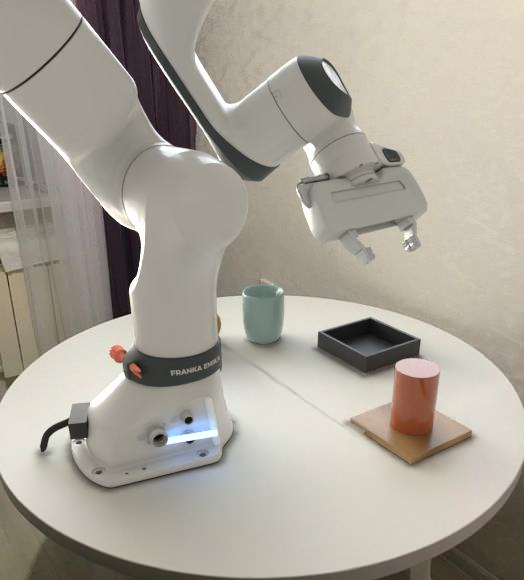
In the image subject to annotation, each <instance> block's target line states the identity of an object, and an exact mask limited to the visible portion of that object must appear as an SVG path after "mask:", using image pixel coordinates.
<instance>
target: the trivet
mask: <svg viewBox="0 0 524 580" xmlns="http://www.w3.org/2000/svg"><path fill="white" fill-rule="evenodd" d="M391 404H392V401H391V402H389V403H386V404H383V405H381V406H379V407H376V408H373V409H371V410H368V411H365V412H363V413H360V414H357V415H355V416H353V417H351V418H350V422H351V423H352V424H354V425H355V426H357V427H359V428H360V429H362V430H363V431H364V434H365V435H366V436H367V437H369V438H370V439H372V440H373V441H375V442H376V443H378V444H380V445H381V446H383V447H384V448H385V449H387V450H388V451H390V453H393V454H394V455H396V456H397V457H399V458H400V459H402V460H403V461H405V462H406V463H407V464H409V465H413V464H415V463H417V462H420V461H421V460H424V459H426V458H428V457H430V456H432V455H434V454H436V453H439V452H441V451H443V450H444V449H445V450H446V449H447V448H449V447H452V446H453V445H456V444H458V443H460V442H462V441H464V440H466V439H469V438H470V437H472V434H473V430H472V429H471V428H469V427H467V426H465V425H464V424H461V423H460V422H458V421H456V420H455V419H452V418H451V417H449V416H447V415H446V414H443V413H442V412H440V411H438V410H436V409H435V415H434V423H433V429H432V430H431V431H430V432H429V433H427V434H424V435H407V434H403V433H400V432H398V431H397V430H395V429H394V428H393V427H392V426H391V425H390V414H391Z"/></svg>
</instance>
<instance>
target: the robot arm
mask: <svg viewBox="0 0 524 580" xmlns="http://www.w3.org/2000/svg"><path fill="white" fill-rule="evenodd" d="M215 1H216V0H138V2H139V7H138V8H139V9H138V12H137V16H136V21H137V26H138V28H139V31H140V33H141V36H142V38H143V41H144V42H145V44H146V46H147V49H148V50H149V52H150V54H151V55H152V56H153V58H154V60H155V61H156V63H157V64H158V66H159V68H160V69H161V71H162V72H163V74H164V75H165V77H166V78H167V80H168V82H169V83H170V84H171V86H172V87H173V89H174V90H175V92H176V94H177V95H178V97H179V98H180V100H181V101H182V102H183V104H184V105H185V107H186V108H187V110H188V111H189V113H190V114H191V116H192V117H193V118H194V120H195V122H196V124H197V125H198V126H199V127H200V129H201V130H202V132H203V134H204V135H205V136H206V138H207V140H208V142H209V144H210V146H211V147H212V149H213V151H214V152H215V155H216V156H217V157H216V156H213V155H212V154H210V153H208V152H205V151H202V150H196V149H190V148H185V147H179V146H175V145H173V144H171V143H170V142H169V141H167V140H165V139H164V138H163V137H162V136H161V135H160V134H159V133H158V132H157V130H156V129H155V128H154V126H153V124H152V123H151V121H150V119H149V118H148V115H147V114H146V112H145V110H144V108H143V106H142V104H141V102H140V99H139V97H138V87H137V85H136V81H135V80H134V78H133V77H132V76H131V74H130V73H129V72H128V71H127V70H126V68H125V67H124V65H123V64H122V63H121V61H119V59H118V58H117V56H116V55H115V54H114V53H113V52H112V50H111V49H110V48H109V47H108V45H107V44H106V43H105V41H104V40H102V38H101V37H100V36H99V34H98V33H97V32H96V31H95V29H94V28H93V27H92V26H91V24H90V23H89V22H88V21H87V19H86V18H85V16H83V14H82V13H81V12H80V10H78V8H77V7H76V6H75V5H74V3H73V2H72V1H71V0H0V94H1V95H2V97H3V98H4V99H5V100H6V101H8V103H10V104H11V105H12V107H13V108H14V109H16V110H17V111H18V112H19V114H20V115H21V116H23V117H24V118H25V120H27V122H29V124H31V125H32V126H33V128H35V130H36V131H37V132H38V133H39V134H40V135H42V137H44V139H45V140H46V141H47V142H48V143H49V144H50V145H51V146H52V147H53V148H54V149H55V150H56V151H57V152H58V154H60V155H61V157H62V158H63V159H64V160H65V161H66V163H67V164H68V165H69V166H70V167H71V169H72V170H73V172H74V173H75V174H76V176H77V177H78V178H79V180H80V182H82V183H83V184H84V186H85V187H86V188H87V189H88V191H89V192H90V193H91V194H92V195H93V196H94V198H95V199H96V200H97V201H98V202H99V203H100V206H102V207H103V208H104V210H105V211H106V212H107V213H108V215H110V216H111V217H112V218H113V219H114V220H115V221H116V222H118V223H119V224H120V225H122V226H124V227H126V228H128V229H130V230H133V231H135V232H137V233H138V234H139V238H140V244H141V245H140V247H141V248H140V259H139V266H138V270H137V274H136V276H135V278H134V279H133V280H132V282H131V283H130V285H129V290H128V294H129V295H128V296H129V303H130V312H131V314H130V315H131V323H132V332H133V341H132V344H131V346H130V348H129V349H128V350H126V349H125V348H124V347H123V346H122V345H120V344H115V345H112V346H111V347H110V349H109V353H108V355H109V357H110V358H111V359H113V361H114V362H115V363H117V364H122V372H121V373H120V374H119V375H118V376H117V377H116V378H115V379H114V380H113V381H111V383H110V384H108V385H107V387H106V388H105V389H103V390H102V391H101V392H100V393H99V394H98V395H97V396H96V397H94V399H93V400H91V402H89V401H88V402H77V403H72V404H71V409H70V413H69V417H67V418H66V419H63V420H60V421H58V422H56V423H54V424H52V425H50V426H48V427H47V429H46V430H45V431H44V433H43V434H42V436H41V440H40V444H39V449H40V453H44V452H46V450H47V448H48V445H49V441H50V438H51V436H52V435H54V434H55V433H56V432H58V431H59V430H63V429H65V428H68V434H69V437H70V438H69V439H70V440H71V454H72V458H73V460H74V462H75V464H76V466H77V467H78V469H79V470H80V471H81V473H82V474H83V475H84V476H85V477H86V478H87V479H89V480H90V481H91V482H92V483H94V484H97V485H99V486H102V487H105V488H115V487H120V486H124V485H128V484H132V483H137V482H140V481H145V480H149V479H152V478H157V477H161V476H165V475H171V474H173V473H174V474H175V473H178V472H181V471H186V470H190V469H195V468H198V467H202V466H207V465H210V464H214V463H215V464H216V462H219V461H220V460H221V458H222V455H223V448H224V446H225V445H226V443H227V442H228V441H229V440H230V439H231V437H232V435H233V433H234V432H233V431H234V423H233V420H232V418H231V416H230V413H229V410H228V406H227V403H226V398H225V393H224V388H223V387H224V386H223V381H222V373H221V372H222V371H223V351H222V350H223V349H222V348H223V347H222V339H221V336H220V334H219V335H218V330H217V314H218V300H217V299H218V298H217V297H218V295H217V292H218V291H217V290H218V281H219V273H220V268H221V266H222V261H223V258H224V254H225V252H226V249H227V248H228V247H229V245H230V244H232V242H234V241H235V240H236V239H237V237H238V236H239V235H240V234H241V232H242V230H243V229H244V227H245V224H246V221H247V218H248V214H249V194H248V190H247V186H246V184H245V182H256V183H257V182H259V183H260V182H263V181H264V180H265V179H266V178H267V177H268V176H269V175H271V174H272V173H273V172H274V171H275V170H276V169H278V168H279V167H280V166H281V164H282V163H284V162H285V161H286V160H288V159H289V158H291V157H292V156H294V155H295V154H296V153H298V152H299V151H300V150H303V151H304V153H305V154H306V157H307V160H308V165H309V168H310V171H311V172H312V175H313V176H309V175H308V176H303V177H301V178H300V179H299V181H298V182H297V183H296V188H295V192H296V194H297V196H298V198H299V200H300V202H301V206H302V210H303V211H302V212H303V214H304V217H305V219H306V223H307V225H308V228H309V230H310V232H311V235H312V237H313V239H315V240H316V241H318V242H319V243H321V244H326V243H331V242H335V241H339V242H340V243H341V246H342V247H343V248H344V249H346V250H347V251H348V252H349V253H350V254H352V255H353V256H355V258H356V260H357V262H358V264H359V265H360V266H365V265H369V264H371V263H372V262H373V261H375V259H376V255H375V253H373V249H372V247H371V246H368V247H367V246H365V245H364V243H362V241H360V240H359V239H358V238H359V236H360V235H361V236H362V235H366V234H369V233H374V232H377V231H382V230H387V229H390V228H394V227H397V228H398V229H399V231H400V232H403V236H404V240H403V241H402V242H401V244H402V246H403V248H404V250H405V252H406V253H411V252H416V251H417V250H418V249H420V248H421V246H422V243H421V241H420V239H419V237H418V225H417V220H418V219H420V218H421V217H422V216H423V215H424V214H426V213H427V211H428V201H427V198H426V197H425V194H424V192H423V191H422V189H421V187H420V185H419V183H418V181H417V180H416V177H415V176H414V175H413V174H412V171H410V170H409V168H407V167H405V166H403V165H404V164H405V163H406V159H405V156H404V154H403V153H402V152H401V151H400V150H398V149H394V148H390V147H386V146H383V145H380V144H377V143H376V142H373V141H370V140H369V138H368V136H367V135H366V133H365V132H364V131H363V130H362V129H361V128H360V127H359V125H358V124H357V122H356V120H355V114H354V111H353V109H352V104H353V98H352V96H351V95H350V93H349V91H348V89H347V87H346V86H345V83H344V82H343V80H342V78H341V76H340V75H339V72H338V71H337V69H336V68H335V66H334V65H333V64H332V63H331V62H330V61H329V60H328V59H326V58H324V57H322V56H317V55H311V54H298V55H297V56H295V57H294V58H292V59H290V60H289V61H287V62H286V63H285V64H284V65H282V66H281V67H280V68H279V69H277V70H276V71H275V72H273V73H272V74H271V75H269V77H268V78H267V79H266V80H264V81H263V82H262V83H261V84H259V85H257V87H256V88H255V89H253V90H252V91H250V93H248V94H247V95H246V96H244V97H243V98H242V99H241V100H239V101H238V102H236V103H228V102H225V100H224V98H223V97H222V95H221V93H220V91H219V90H218V88H217V87H216V86H215V83H214V82H213V80H212V79H211V77H210V75H209V74H208V72H207V71H206V69H205V68H204V66H203V64H202V63H201V61H200V59H199V57H198V55H197V53H196V43H197V40H198V38H199V34H200V32H201V29H202V27H203V25H204V22H205V20H206V19H207V16H208V15H209V12H210V11H211V8H212V7H213V5H214V3H215ZM244 181H245V182H244Z"/></svg>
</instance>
